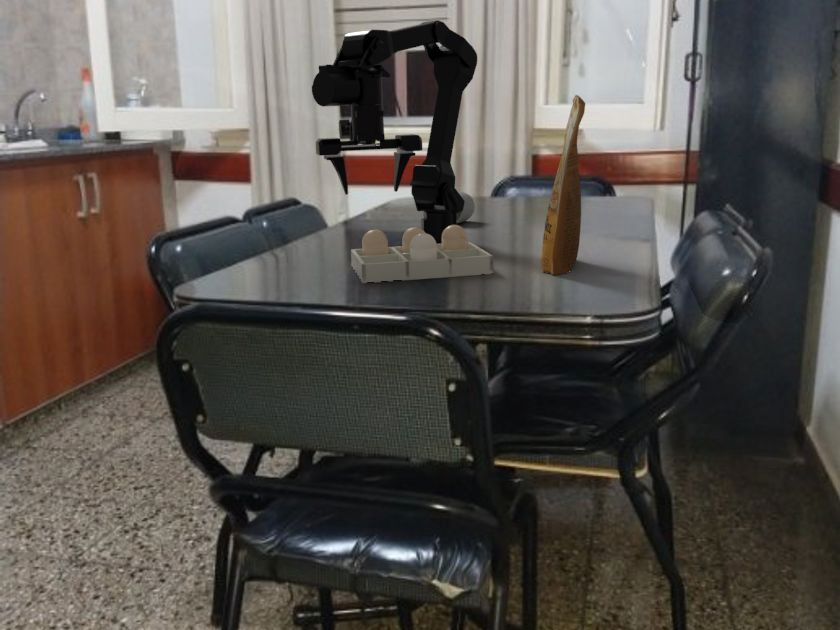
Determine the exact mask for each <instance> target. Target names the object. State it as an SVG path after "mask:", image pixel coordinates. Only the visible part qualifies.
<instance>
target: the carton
mask: <svg viewBox="0 0 840 630" xmlns="http://www.w3.org/2000/svg"><path fill="white" fill-rule="evenodd" d="M420 233H425V232H424V230H422V229H421V227H416V226H414V227H413V226H412V227H410V228H408V229H406V230H405V231H404V233H403V235H402V238H401V239H402V241H401V242H402V243H401V244H402V246H399V245H398V246H389V242H388V241H389V240H388V237H387V235H386V234H385V233H384V232H383V231H381V230H379V229H370V230H369V231H367V232H365V233H364V235H363V237H362V240H361V245H362V246H361V247H362V248H351V249H350V258H351V259H350V263H351V268H352V267H353V268H352V269H353V270H355V271H354V272H355V274H356V273H357V274H356V275H357V277H358V276H359V277H358V278H359V280H360V279H361V280H360V282H361V283H362V284H368V283H367V282H374V283H382V282H381V281H388V282H394V281H393V280H402V281H414V280H426V279H427V280H428V279H430V280H431V279H443V278H453V277H455V278H456V277H467V276H468V277H470V276H480V275H481V274H485V275H492V274H491V273H493V274H494V255H492V254H490V253H489V252H487V251H486V250H484V249H482V248H481V247H479V246H477V245H476V244H474V243H473V242H471V241H468V235H467V232H466V230H465V229H464V228H463V227H462V226H460V225H458V224H457V225H450V226H448V227H447V228H445V230H444V231H443V233H442V243H438V244H437V259H429V260H414V261H411V259H410V243H411V240H412V239H413V237H414V236H416V235H417V234H420ZM481 276H482V275H481Z"/></svg>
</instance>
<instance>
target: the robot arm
mask: <svg viewBox="0 0 840 630" xmlns="http://www.w3.org/2000/svg"><path fill="white" fill-rule="evenodd" d="M438 44H440V45H441V46H439V45H438ZM422 46H423V47H424V52H425V57H426V58H427V59H428V60H429V61H430V63H431V64H432V65H433V68H432V74H433V77H434V80H435V83H436V85H437V86H436V87H437V91H436V97H435V98H436V99H435V102H434V103H435V105H434V109H433V115H432V121H431V127H430V132H429V133H430V134H429V138H428V145H427V150H426V156H425V159H424V161H423V162H422V163H421V164H420V165H419V164H415V165H414V167H413V169H412V177H411V181H410V184H409V185H410V186H411V189H410V191H411V196H412V197H413V201H414V205H415V207H416V211H417V212H423V218H421V219H420V225H421V227H420V228H421V229H422V230H424V232H425V233H427V234H429V235H431V236H432V237H433V238H434V239H435V241H436V244H442V233H443V231H444V230H445V228H447V227H448V226H450V225H458V224H457V213H459V212H462V211H463V208H464V203H465V201H464V200H463V198H462V197H461V196H460V194H459V193H458V192H459V191H458V190H457V189H456V175H455V172H454V169H453V167H452V163H451V161H452V157H453V156H452V154H453V149H454V145H455V138H456V132H457V127H458V122H459V121H458V120H459V114H460V110H461V104H462V103H461V102H462V96H463V94H464V93H463V92H464V91H465V89H466V88H467V87H468V85H469V84H470V83H471V81H472V80H474V79H473V78H474V75H475V72H476V68H477V64H478V54H477V51H476V50H475V49H474V47H473V45H471V43H469V41H468V40H467V39H466V38H465V37H463V36H462V35H460V34H459V33H457V32H455V31H453V30H452V29H450V28H449V26H448V25H447V24H446V23H445V22H443V21H441V20H438V19H436V20H431V21H430V20H429V21H423V22H421V23H419V24H415V25H411V26H406V27H401V28H396V29H392V30H386V29H367V30H360V31H351V32H348V33H346V34H345V35H344V36H343V40H342V45H341V47H340V49H339V52H338V53H337V55H336V57H335V59H334V62H333V64H319V65H318V72H317V74H316V75H315V76H314V78H313V83H312V85H311V94H312V97H313V100H314V101H315V103H316V104H318V105H319V106H321V107H344V106H345V107H347V106H350V111H351V112H350V114H351V116H350V117H351V119H350V120H349V119H339V121H338V134H339V137H326V138H325V137H322V138H318V139H317V140H316V141H315V154H316V155H318V156H323V159H324V160H326V161H330V162H331V164H332V166H333V168H334V170H335V172H336V174H337V176H338V178H339V182H340V185H341V186H342V189H343V193H344V194H345V195H346V196H347V195H349V185H348V179H347V177H348V176H347V172H346V171H347V170H346V165H345V157H344V156H342V155H341V153H342V152H349V151H351V152H353V151H369V150H370V151H371V150H372V151H373V150H375V151H376V150H390V149H391V150H392V149H396V151H394V152H393V159H394V167H393V168H394V169H393V171H394V172H393V191H394V192H395V193H396V192H398V190H399V188H400V184H401V181H402V178H403V175H404V173H405V170H406V168H407V165H408V163H409V162H410V159H411V157H416V153H415V152H418V151H419V152H420V151H423V139H422V137H421V136H420V135H419V134H415V133H414V134H413V133H412V134H411V133H410V134H409V133H408V134H395V136H394V138H386V137H385V126H384V125H385V124H384V115H385V114H384V105H383V104H384V102H383V98H384V97H383V82H382V79H389V78H391V74H390V72H389V71H388V70H386V69H385V68H384V67H383V65H382V64H381V63H383V62H385V61H387V60H389V59H391V57H393V55H394V54H395V53H398V52H403V51H406V50H409V49H410V50H411V49H413V48H417V47H422ZM376 142H377V143H376ZM435 205H438V206H435Z"/></svg>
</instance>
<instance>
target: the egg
mask: <svg viewBox="0 0 840 630" xmlns="http://www.w3.org/2000/svg"><path fill="white" fill-rule="evenodd" d="M410 259H411V261H414V260H429V259H437V244H436V241H435V239H434V238H433V237H432V236H431V235H429V234H427V233H420V234H417V235H416V236H414V237H413V239H412V240H411V243H410Z"/></svg>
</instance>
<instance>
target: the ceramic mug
mask: <svg viewBox="0 0 840 630" xmlns="http://www.w3.org/2000/svg"><path fill="white" fill-rule="evenodd" d="M458 193H459V194H460V196H461V197H462V198H463V200H464V201H465V203H464V208H463V211H462V212H459V213H457V225H458V224H461V223H464V222H466V221H468V220H469V219H471V218H472V216H473V214H474V213H475V208H476V207H475V206H476V205H475V201H474V199H473V198H472V196H471V195H470V194H468V193H467V192H464V191H458ZM435 206H438V205H435Z"/></svg>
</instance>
